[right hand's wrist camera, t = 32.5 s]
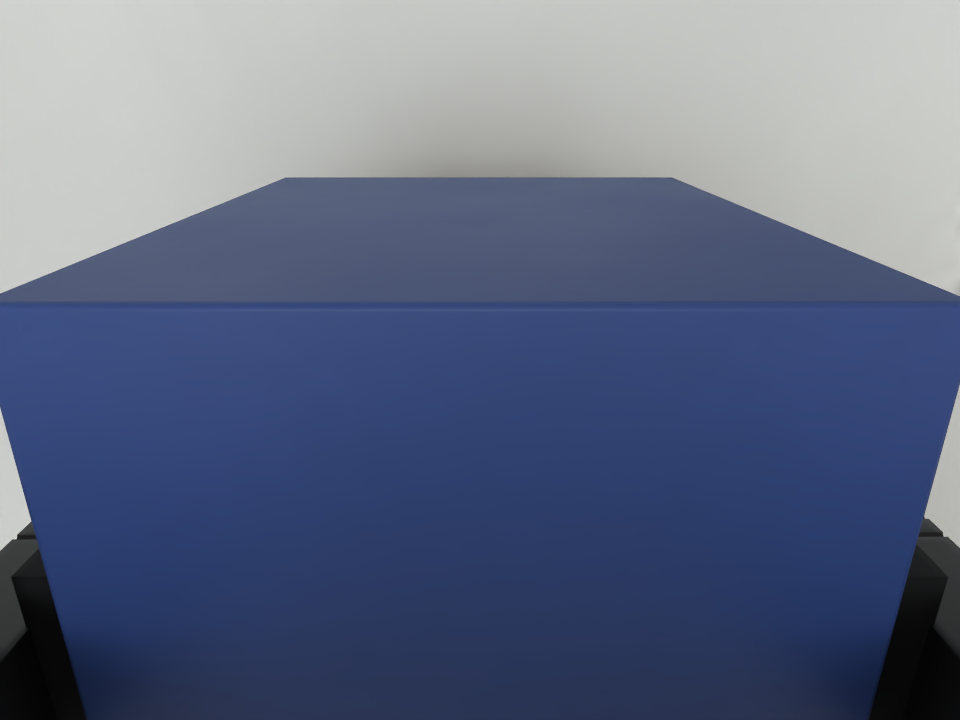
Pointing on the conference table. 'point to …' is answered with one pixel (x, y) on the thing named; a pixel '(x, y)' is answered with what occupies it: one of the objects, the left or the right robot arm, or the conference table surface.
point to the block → (477, 455)
